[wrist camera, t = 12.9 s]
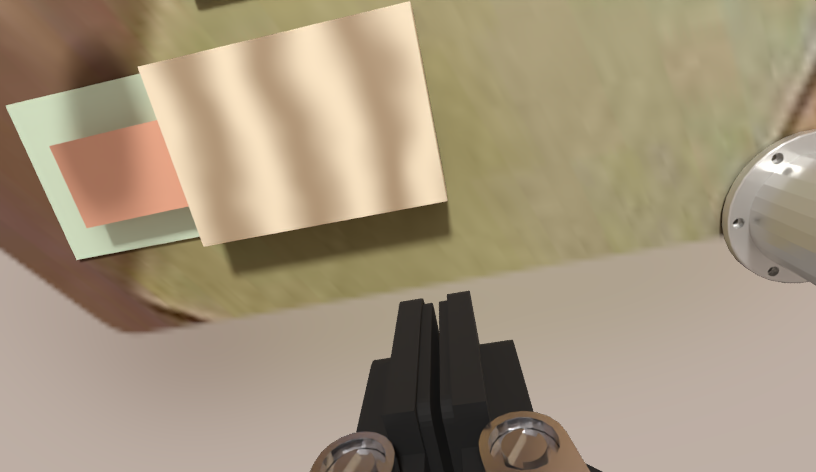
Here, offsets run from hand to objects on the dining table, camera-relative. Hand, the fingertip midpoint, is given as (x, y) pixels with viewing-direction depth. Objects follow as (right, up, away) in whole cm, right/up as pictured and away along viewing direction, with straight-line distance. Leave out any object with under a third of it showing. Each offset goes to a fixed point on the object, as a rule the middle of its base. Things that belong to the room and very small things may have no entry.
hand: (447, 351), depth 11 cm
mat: (-26, +8, +30) cm, 40 cm away
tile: (-24, +8, +29) cm, 38 cm away
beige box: (-9, +11, +27) cm, 31 cm away
